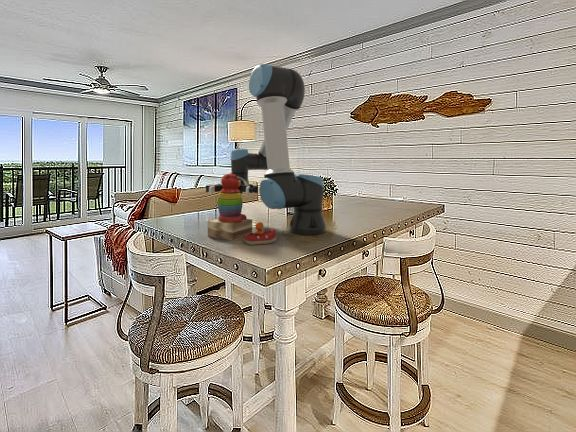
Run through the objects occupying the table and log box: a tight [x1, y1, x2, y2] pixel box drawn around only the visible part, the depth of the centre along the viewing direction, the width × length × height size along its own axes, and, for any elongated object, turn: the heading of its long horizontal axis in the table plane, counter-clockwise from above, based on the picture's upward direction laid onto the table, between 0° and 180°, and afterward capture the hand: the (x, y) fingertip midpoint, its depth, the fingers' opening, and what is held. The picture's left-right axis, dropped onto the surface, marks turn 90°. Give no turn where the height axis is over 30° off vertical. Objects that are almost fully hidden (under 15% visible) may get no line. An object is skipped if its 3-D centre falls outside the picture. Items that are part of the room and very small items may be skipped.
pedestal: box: [207, 218, 253, 241], centre depth 138 cm, size 12×12×6 cm
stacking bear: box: [217, 172, 248, 223], centre depth 136 cm, size 11×10×18 cm
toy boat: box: [243, 221, 277, 246], centre depth 128 cm, size 8×12×8 cm, turn 111°
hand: (228, 191), depth 133 cm, fingers open, 13 cm apart
